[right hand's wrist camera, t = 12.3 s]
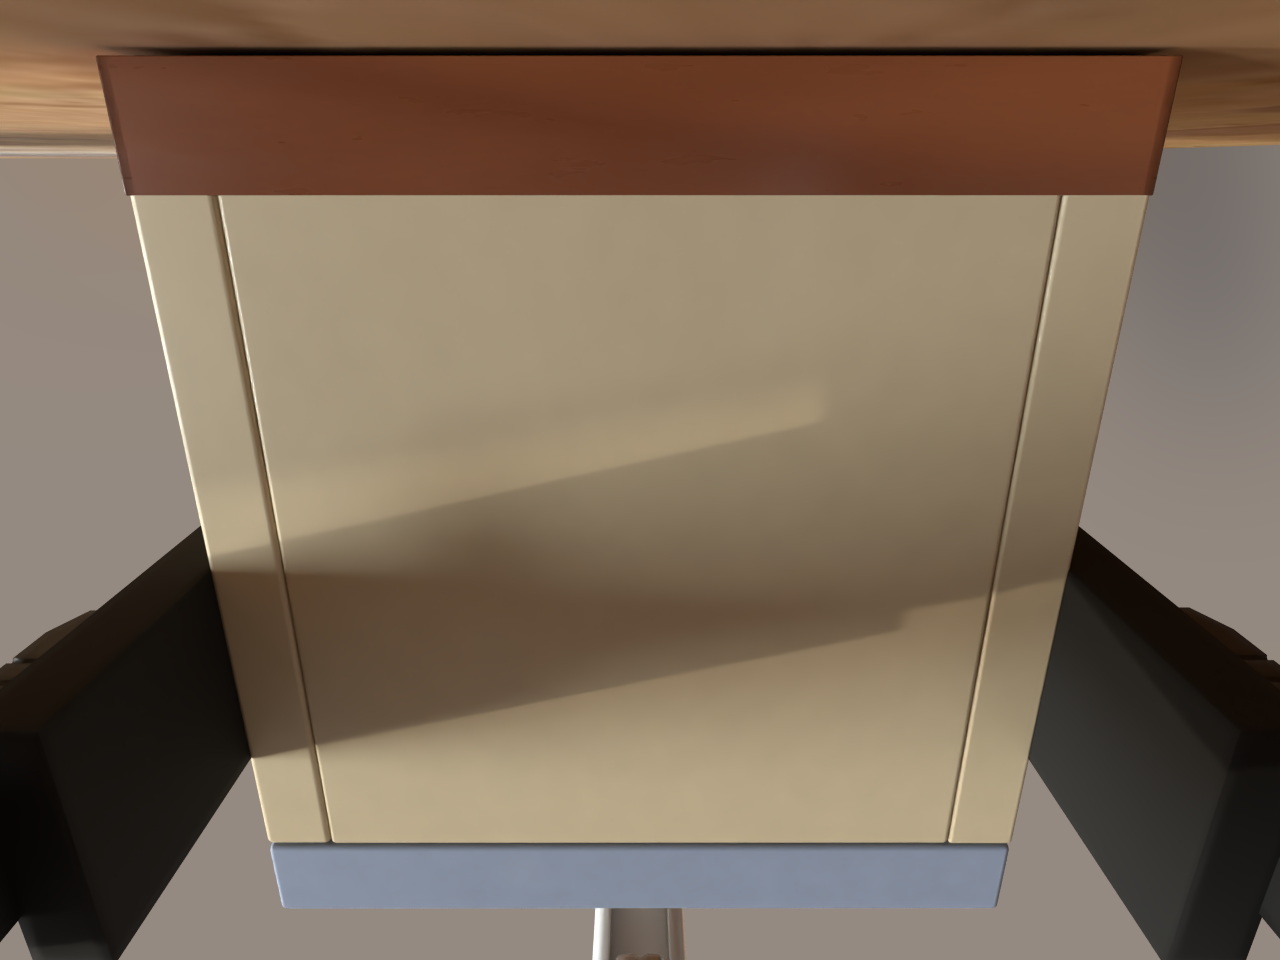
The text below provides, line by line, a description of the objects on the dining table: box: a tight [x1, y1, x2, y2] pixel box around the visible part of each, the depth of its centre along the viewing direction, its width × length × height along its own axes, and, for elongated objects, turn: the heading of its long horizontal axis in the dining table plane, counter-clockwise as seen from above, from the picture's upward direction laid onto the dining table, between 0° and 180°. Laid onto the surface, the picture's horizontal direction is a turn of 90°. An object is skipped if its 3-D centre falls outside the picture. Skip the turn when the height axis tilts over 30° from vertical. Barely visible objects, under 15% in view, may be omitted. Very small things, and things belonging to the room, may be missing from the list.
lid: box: [271, 838, 1009, 908], centre depth 20 cm, size 17×10×9 cm, turn 0°
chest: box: [96, 56, 1183, 843], centre depth 17 cm, size 16×10×10 cm, turn 0°
